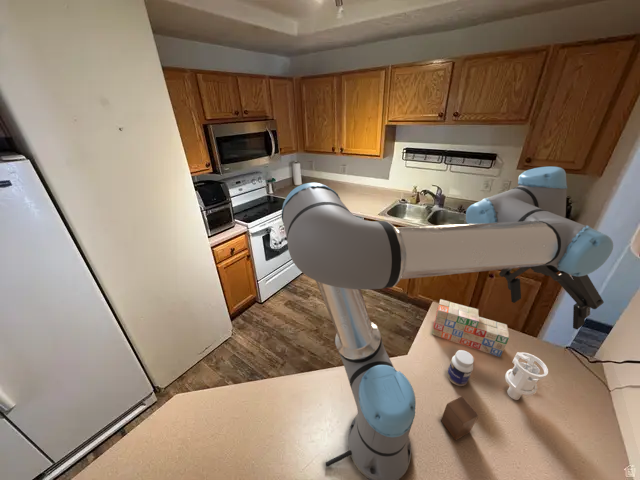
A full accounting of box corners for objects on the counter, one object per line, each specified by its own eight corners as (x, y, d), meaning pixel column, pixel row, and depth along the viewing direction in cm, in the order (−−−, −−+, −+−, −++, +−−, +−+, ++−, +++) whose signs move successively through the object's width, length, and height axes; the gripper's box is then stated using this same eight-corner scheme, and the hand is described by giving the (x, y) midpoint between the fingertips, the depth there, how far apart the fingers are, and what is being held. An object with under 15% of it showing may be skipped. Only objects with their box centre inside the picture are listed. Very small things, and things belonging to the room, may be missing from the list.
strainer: (503, 377, 79) (520, 345, 72) (531, 394, 75) (552, 361, 67) (495, 393, 75) (513, 360, 68) (524, 412, 70) (546, 379, 63)
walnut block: (455, 440, 65) (463, 423, 61) (440, 420, 69) (447, 403, 65) (470, 431, 67) (478, 415, 63) (454, 412, 71) (462, 396, 67)
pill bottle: (442, 372, 81) (449, 351, 76) (456, 366, 83) (464, 345, 78) (457, 389, 76) (465, 368, 72) (471, 382, 78) (480, 361, 73)
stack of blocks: (498, 343, 90) (510, 318, 84) (500, 357, 85) (512, 331, 79) (433, 322, 99) (440, 298, 93) (431, 334, 94) (438, 309, 88)
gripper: (633, 243, 47) (623, 331, 55) (499, 221, 70) (505, 286, 77) (609, 260, 46) (602, 349, 53) (479, 233, 68) (487, 297, 75)
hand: (544, 311), depth 65 cm, fingers open, 13 cm apart
